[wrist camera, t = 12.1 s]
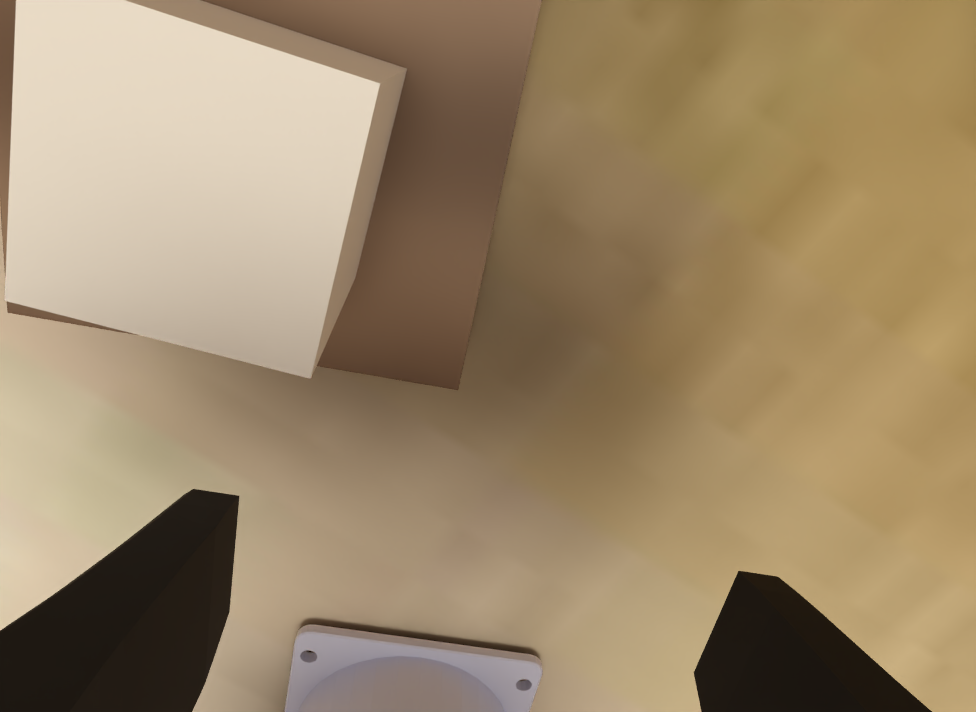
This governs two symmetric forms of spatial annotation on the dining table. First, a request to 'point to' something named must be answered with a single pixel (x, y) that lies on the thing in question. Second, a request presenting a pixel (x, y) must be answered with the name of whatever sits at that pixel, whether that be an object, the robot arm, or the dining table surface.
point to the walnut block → (399, 170)
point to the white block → (192, 174)
